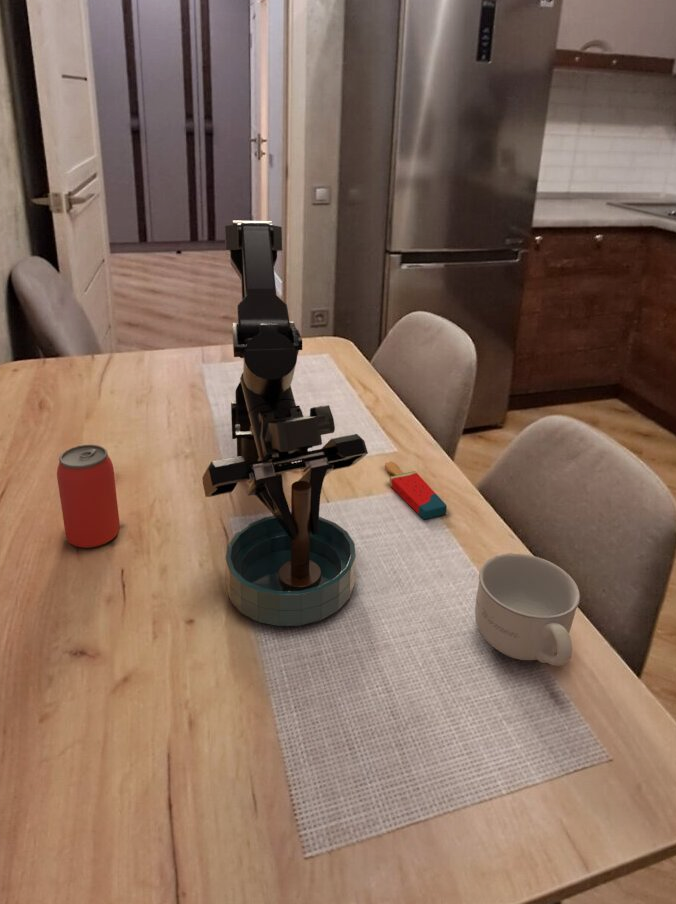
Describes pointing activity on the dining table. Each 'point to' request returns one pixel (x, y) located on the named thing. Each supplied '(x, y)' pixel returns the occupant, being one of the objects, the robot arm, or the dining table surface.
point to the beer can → (88, 496)
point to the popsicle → (416, 492)
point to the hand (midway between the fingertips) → (304, 536)
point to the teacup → (526, 607)
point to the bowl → (260, 560)
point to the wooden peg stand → (300, 544)
